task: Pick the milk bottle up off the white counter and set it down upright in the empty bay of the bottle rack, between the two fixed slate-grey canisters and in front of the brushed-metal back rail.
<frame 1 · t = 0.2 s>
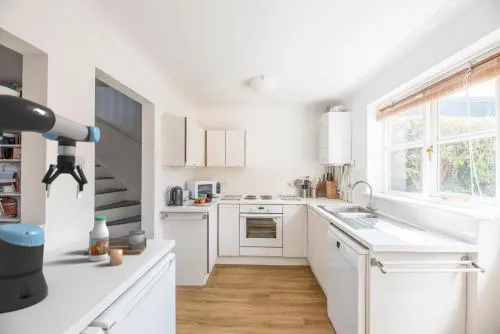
hand: (64, 197, 130), 28 cm above the countertop, fingers open, 13 cm apart
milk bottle: (98, 259, 123), on the countertop
rack: (117, 251, 137), on the countertop
peach rounded cylinder: (115, 264, 118), on the countertop
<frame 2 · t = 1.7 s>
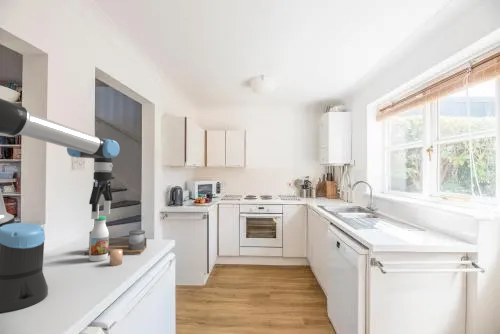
hand: (101, 216, 124), 20 cm above the countertop, fingers open, 13 cm apart
nothing on the countertop moved.
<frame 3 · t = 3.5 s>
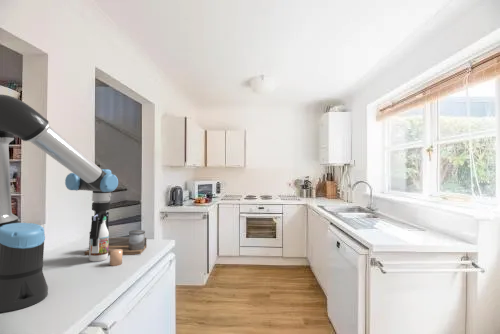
hand: (99, 250, 123), 4 cm above the countertop, fingers closed on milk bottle, 8 cm apart
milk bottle: (98, 259, 123), on the countertop, touching gripper
everything else where it was.
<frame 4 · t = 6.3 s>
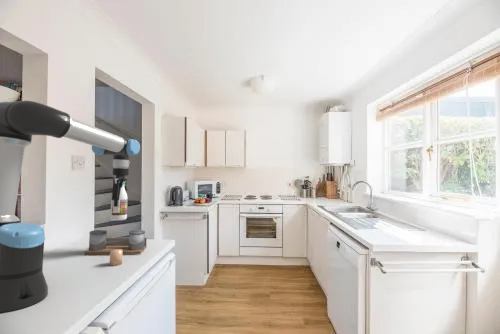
hand: (118, 211, 137), 21 cm above the countertop, fingers closed on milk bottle, 8 cm apart
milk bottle: (118, 220, 137), point 16 cm above the countertop, touching gripper
everything else where it was.
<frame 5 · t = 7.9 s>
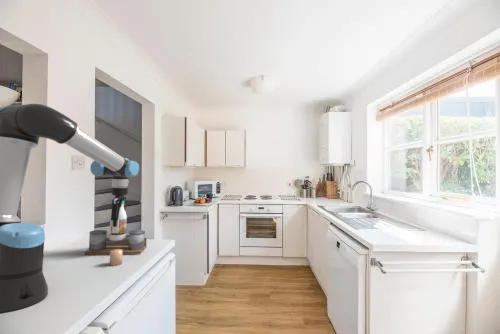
hand: (118, 231, 137), 11 cm above the countertop, fingers closed on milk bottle, 8 cm apart
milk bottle: (117, 239, 136), point 6 cm above the countertop, touching gripper
everything else where it was.
when the fingers open (8 cm above the countertop, at t = 9.0 s): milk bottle drops 2 cm, resting on rack.
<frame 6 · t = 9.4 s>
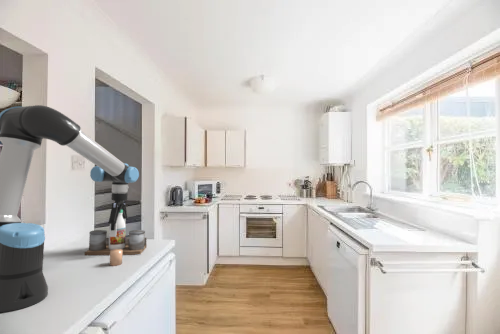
hand: (117, 233, 136), 9 cm above the countertop, fingers open, 13 cm apart
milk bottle: (117, 248, 136), point 1 cm above the countertop, touching rack
everything else where it was.
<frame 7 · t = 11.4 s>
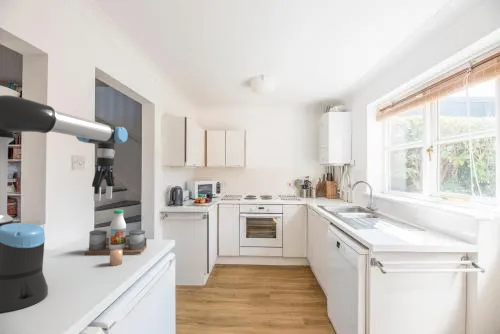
hand: (102, 199, 132), 27 cm above the countertop, fingers open, 13 cm apart
nothing on the countertop moved.
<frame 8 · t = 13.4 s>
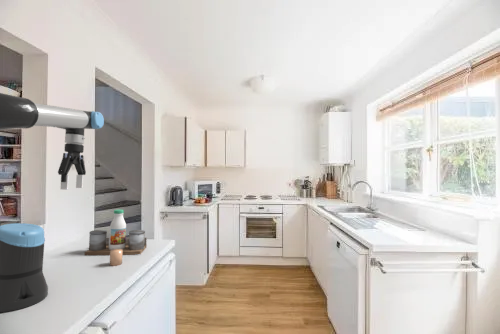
hand: (72, 188, 124), 33 cm above the countertop, fingers open, 13 cm apart
nothing on the countertop moved.
at the end: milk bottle inside the target area on the rack (0.2 cm from its centre), point 1.3 cm above the rack's base; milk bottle tilted 0°; the gripper is holding nothing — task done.
